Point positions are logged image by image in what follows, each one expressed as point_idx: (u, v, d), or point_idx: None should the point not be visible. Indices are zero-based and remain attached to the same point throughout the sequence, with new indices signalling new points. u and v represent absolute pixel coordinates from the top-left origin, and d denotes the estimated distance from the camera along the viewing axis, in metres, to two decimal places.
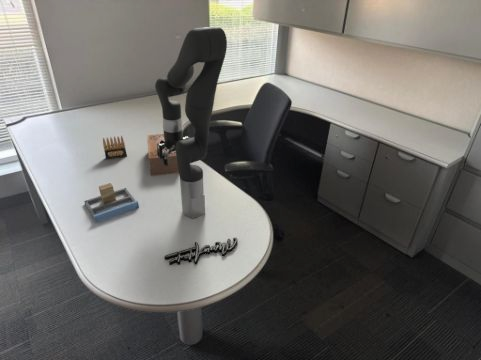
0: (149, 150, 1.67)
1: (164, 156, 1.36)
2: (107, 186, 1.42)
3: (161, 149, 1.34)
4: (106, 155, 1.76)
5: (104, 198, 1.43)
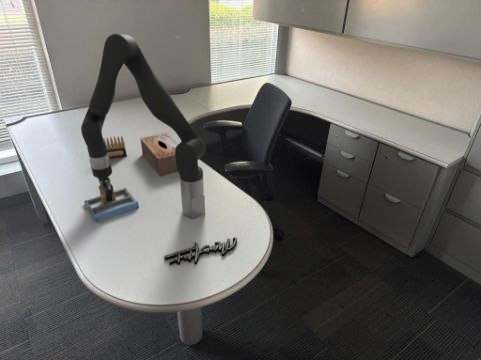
0: (153, 151, 1.65)
1: None
2: None
3: None
4: None
5: (104, 198, 1.43)
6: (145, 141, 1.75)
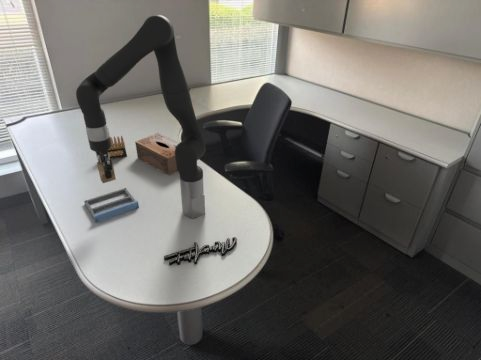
0: (158, 152, 1.65)
1: None
2: None
3: None
4: None
5: (103, 175, 1.30)
6: (143, 144, 1.72)
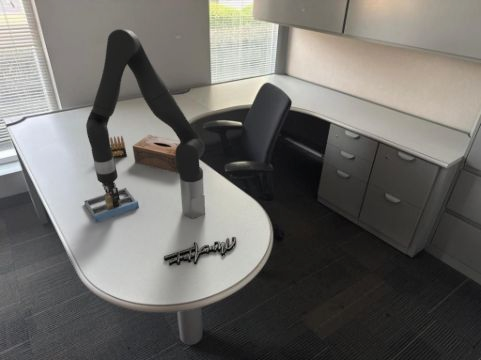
0: (163, 152, 1.65)
1: None
2: None
3: None
4: None
5: (109, 206, 1.38)
6: (142, 147, 1.69)
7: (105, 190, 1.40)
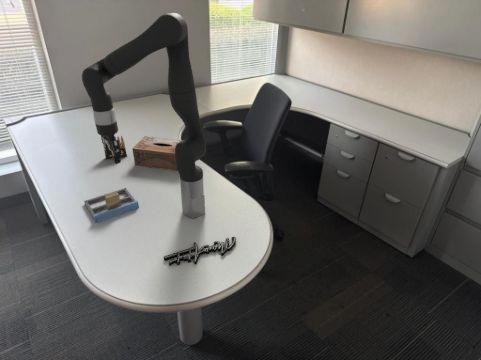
0: (166, 151, 1.66)
1: (118, 151, 1.28)
2: (112, 194, 1.38)
3: None
4: (106, 155, 1.76)
5: (110, 207, 1.38)
6: (142, 148, 1.68)
7: (105, 147, 1.34)
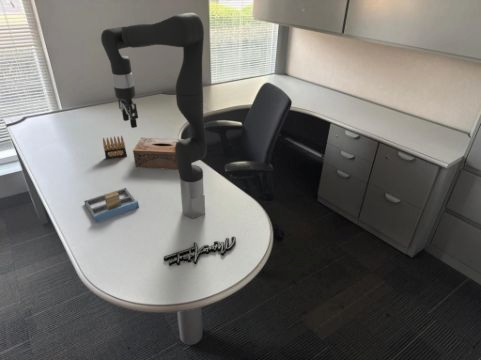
0: (169, 151, 1.66)
1: (135, 115, 1.33)
2: (112, 194, 1.38)
3: None
4: (106, 155, 1.76)
5: (110, 207, 1.38)
6: (143, 149, 1.67)
7: (122, 112, 1.39)
